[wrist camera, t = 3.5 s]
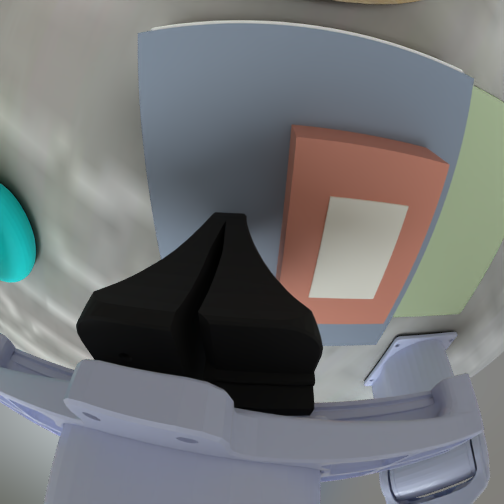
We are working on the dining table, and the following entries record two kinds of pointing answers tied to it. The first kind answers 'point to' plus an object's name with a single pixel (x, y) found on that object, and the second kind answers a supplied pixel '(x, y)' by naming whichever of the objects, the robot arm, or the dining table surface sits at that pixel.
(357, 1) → the plant saucer
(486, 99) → the felt mat
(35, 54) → the dining table surface
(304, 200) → the card box
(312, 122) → the book deck
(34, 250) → the donuts
